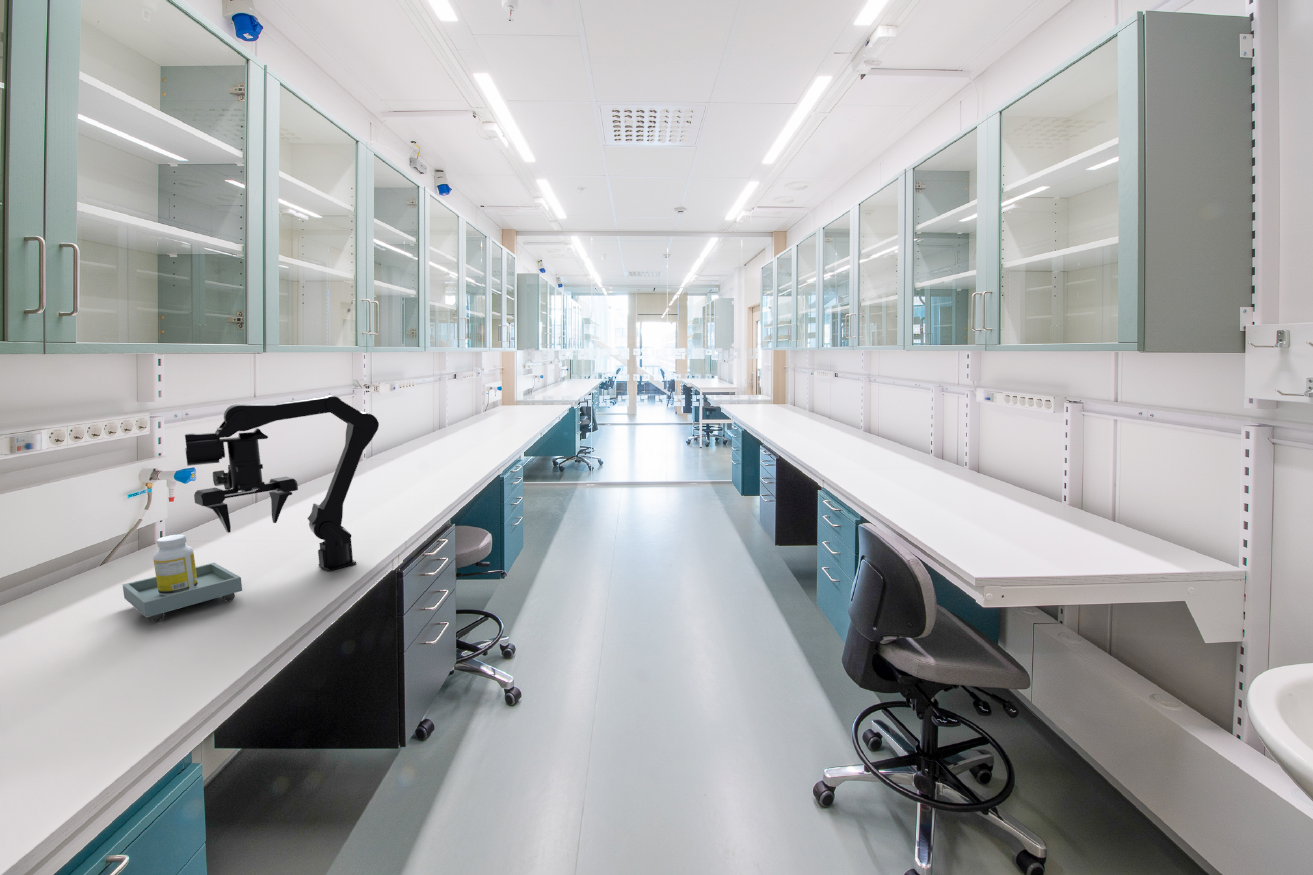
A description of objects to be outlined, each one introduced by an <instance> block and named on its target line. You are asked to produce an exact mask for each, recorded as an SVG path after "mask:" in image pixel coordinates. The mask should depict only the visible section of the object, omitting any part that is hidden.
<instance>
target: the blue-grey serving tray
mask: <svg viewBox="0 0 1313 875" xmlns="http://www.w3.org/2000/svg"><path fill="white" fill-rule="evenodd" d="M196 574H197V582H198V585H197V587H196V588H194V589H190V590H186V591H182V592H178V593H175V594H171V595H167V596H163V595H160V594H159V592H158V586H157V579H156V576H151V577H148V578H144V579H143V578H142V579H140V580H135V581H131V582H127V583H124V584H121V585H122V591H123V596H124V599H125V601H127V602H128V603H129V604H130V605H132V606H133V607H134V608H135V610H137V612H139V613H140V614H142V616H144V617H145V618H150V620H151V621H152V622H154V623H158V622H159V623H160V622H161V621H162V620H164V618H165V614H164V613H168V612H171V611H175V610H179V609H181V608H185V607H188V606H189V607H190V606H193V605H196V604H199V603H204V602H207V601H210V600H213V599H214V600H215V599H217V598H222V599H223V601H226V602H232V601H233V600H234V598H235V597H236V595H235V594H237V593H238V592H243V584H242V576H240V575H237V574H236V573H234V572H233V571H230V570H228V569H227V568H225V567H223V566H222V565H219V564H217V563H216V562H211V563H206V564H203V565H202V564H201V565H199V566H196Z"/></svg>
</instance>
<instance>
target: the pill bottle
mask: <svg viewBox="0 0 1313 875" xmlns="http://www.w3.org/2000/svg"><path fill="white" fill-rule="evenodd" d="M186 537H187V536H186V535H185V534H181V533H180V534H171V535H166V536H163V537H160V538H157V539H156V545H157V548H159V549H158V550H157V551H156V552H155V553H154V554H153V556H152V557H153V563H154V570H155V571H154V572H155V577H156V579H157V586H158V592H159V594H160V595H163V596H167V595H171V594H175V593H178V592H182V591H186V590H190V589H194V588H196V587H197V585H198V582H197V574H196V567H197V566H196V560H195V552H194V549H193V547H192V546H189V545H187V538H186Z"/></svg>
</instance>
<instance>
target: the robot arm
mask: <svg viewBox="0 0 1313 875" xmlns="http://www.w3.org/2000/svg"><path fill="white" fill-rule="evenodd" d="M327 413H328V414H329V413H330V414H332V415H334V416H335V417H336V418H338V419H339V420H340V421H343V422H344V423H346V430H345V440H344V441H345V443H344V447H343V449H342V452H341V454H340V455H341V456H340V458H339V460H338V464H337V466H336V468H335V471H334V474H333V476H332V478H331V481H330V484H329V487H328V489H327V491H326V495H325V497H324V498H323V500H322V501H321V502H320V504H318V503H313V504H312V508H311V512H310V514H309V516H308V517H307V521H309V522H308V526H309V529H310V531H311V532H312V533H313V534H314V535H315V537H316V538H318V539H320V540H322V542H320V543H319V542H318V543H319V549H318V550H317V554H318V566H319V567H320V568H322V569H325V570H327V571H329V572H330V571H336V570H339V569H342V568H345V567H349V566H353V565H356V564H357V561H356V560H354V559H353V557H354V556H353V547H352V534H351V533H350V532H349V531H348V530H347V528H345V527H344V526H342V523H343V515H344V512H343V511H344V502H345V500H346V497H347V495H348V491H349V490H350V487H351V485H352V482H353V478H354V477H355V474H356V471H357V468H358V466H359V463H360V461H361V457H362V455H363V452H364V450H365V449H366V448H367V446H369V444H370V443H371V441H372V440H373V438H374V436H375V435H376V433H377V432H378V430H379V426H380V424H379V423H380V422H379V421H378V419H377V417H376V416H374V415H373V414H372V413H368V412H365V411H360V410H358V409H356V408H354V407H353V406H351V405H349V404H348V403H346V402H345V401H343V400H342V399H341V398H339V397H338V396H335V395H326V396H324V397H317V398H310V399H309V398H308V399H303V400H295V401H288V402H280V403H273V404H257V403H235V404H232V405H230V406H228V407H227V408H226V410H225V411H224V413H223V422H222V423H221V424H220V425H219V427H217V428H216V430H215V432H208V433H185V434H184V438H185V446H186V447H185V450H184V451H185V456H186V466H187V467H189V466H190V467H191V466H198V465H199V466H201V465H209V464H211V465H212V464H218V463H219V464H220V460H222V459H223V458H226V452H225V451H226V450H225V444H224V443H226V445H227V446H226V447H227V452H228V461H229V464H228V465H227V466H228V467H227V472H225V471H224V470H214V471H213V472H212V481H213V482H212V483H213V485H214V486H215V487H211V488H202V489H197V490H196V491H195V492H194V495H193V498H194V503H195V504H197V505H199V506H201V507H205V508H208V509H210V510H212V511H213V512H214V513H215V514H216V516H217V517H218V519H219V521H220V523H221V524H222V526H223V528H224V529H225V532H227V533H231V530H232V529H231V521H230V514H229V507H228V504H227V503H224V501H226V499H231V498H235V497H241V496H242V497H243V496H248V495H255V494H260V493H266V492H268V493H269V496H270V502H271V503H270V504H271V520H272V523H273V524H276V523H277V522H278V520H279V516H280V515H281V512H282V509H283V507H284V505H285V503H286V501H287V499H288V498H289V496H292V495H293V492H296V491H299V487H298V486H299V485H298V481H297V479H295V478H292V477H288V476H282V477H275V478H270V479H269V481H268V482H267V483H265V481H263V475H262V469H264V464H263V463H261V456H260V455H261V454H260V446H259V440H267V439H268V438H269V436H268V435H267V434H266V433H264V432H262V430H261V429H260V427H263V426H264V425H265V426H266V425H267V424H270V423H273V422H277V421H282V420H289V419H294V418H295V419H297V418H303V417H309V416H315V415H321V414H322V415H323V414H327ZM253 429H255V430H254V431H251V432H248V431H250V430H253ZM246 431H247V432H246ZM236 433H238V437H233V435H235V434H236ZM218 486H219V487H220V486H223V487H224V489H221V488H218Z"/></svg>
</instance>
